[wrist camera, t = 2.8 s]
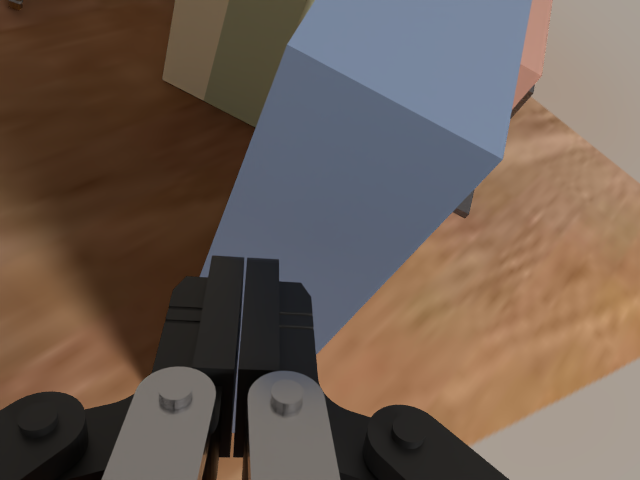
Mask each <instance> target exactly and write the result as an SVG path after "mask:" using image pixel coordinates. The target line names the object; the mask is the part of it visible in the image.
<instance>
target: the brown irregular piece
mask: <svg viewBox="0 0 640 480" xmlns="http://www.w3.org/2000/svg"><path fill="white" fill-rule="evenodd" d="M9 1H10V2H9V7H10V8H13V9H16V10H20V9H22V3H23V0H9Z"/></svg>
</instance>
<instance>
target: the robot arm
mask: <svg viewBox="0 0 640 480" xmlns="http://www.w3.org/2000/svg"><path fill="white" fill-rule="evenodd" d="M243 276H244V257H231V256H214V255H212V258H211V263H210V269H209V275H208V277H192V276H186V277H185V278H184V279H183V280H182V281H181V282H180V283H179V284H178V285H177V286H176V287H175V288H174V289H173V292H172V296H171V300H170V304H169V309H168V312H167V316H166V320H165V323H164V327H163V331H162V335H161V339H160V343H159V347H158V351H157V354H156V358H155V362H154V366H153V370H152V373H151V374H150V375H149V376H147V377H146V378H145V379H144V380H143V381H142V382H141V383H140V384H139V386H138V387H137V389H136V392H135V394H133V395H132V396H130V397H128V398H126V399H124V400H121V401H119V402H116V403H112V404H108V405H103V406H99V407H94V408H90V409H85V410H84V407H83V406H82V404H81V403H80V402H79V401H78V400H77V399H76V398H74V397H73V396H71V395H68V394H65V393H61V392H41V393H36V394H32V395H29V396H26V397H24V398H21V399H19V400H17V401H15V402H14V403H12V404H10V405H9V406H7V407H5V408H4V409H2V410H0V480H216V478H217V471H218V461H219V457H230V449H231V437H232V425H233V413H234V401H235V389H236V377H237V365H238V353H239V341H240V328H241V312H242V294H243ZM312 315H313V312H312V299H311V296H310V295H309V293H308V292H307V290H306V289H305V288H304V286H303V285H302V283H300V282H282V281H279V259H265V258H249V257H247V267H246V279H245V291H244V304H243V316H242V328H241V341H240V353H239V365H238V381H237V399H236V417H235V435H234V453H233V457H243V470H242V480H509V479H508V478H507V477H505V476H504V475H503V474H502V473H501V472H499V471H498V470H497V469H495V468H494V467H493V466H492V465H491V464H489V463H488V462H487V461H486V460H485V459H483V458H482V457H481V456H480V455H479V454H477V453H476V452H475V451H474V450H472V449H471V448H470V447H469V446H468V445H466V444H465V443H464V442H463V441H461V440H460V439H459V438H458V437H456V436H455V435H454V434H453V433H452V432H450V431H449V430H448V429H447V428H445V427H444V426H443V425H442V424H441V423H439V422H438V421H437V420H436V419H434V418H433V417H432V416H430V415H429V414H428V413H426V412H424V411H422V410H420V409H418V408H415V407H411V406H407V405H391V406H387V407H384V408H382V409H380V410H378V411H377V412H376V413H374V415H373V416H372V417H367V416H364V415H361V414H358V413H354V412H351V411H349V410H346V409H344V408H342V407H340V406H338V405H337V404H335V403H334V402H332V401H331V400H330V399H329V398H328V397H327V396H326V395H325V394H324V392H323V391H322V389H321V387H320V385H319V381H318V373H317V361H316V349H315V336H314V324H313V316H312Z"/></svg>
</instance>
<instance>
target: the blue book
mask: <svg viewBox="0 0 640 480" xmlns="http://www.w3.org/2000/svg"><path fill="white" fill-rule="evenodd" d="M531 3H532V0H315V1H314V3H313V4H312V6H311V7H310V9H309V11H308V12H307V14H306V15H305V17H304V19H303V20H302V22H301V23H300V25H299V26H298V28H297V30H296V31H295V33H294V34H293V36H292V38H291V39H290V41H289V42H288V44H287V46H286V49H285V51H284V54H283V57H282V59H281V62H280V65H279V67H278V70H277V73H276V75H275V78H274V81H273V83H272V86H271V89H270V91H269V94H268V97H267V99H266V102H265V104H264V107H263V110H262V112H261V115H260V118H259V120H258V123H257V126H256V128H255V131H254V134H253V136H252V139H251V142H250V144H249V147H248V150H247V152H246V155H245V158H244V160H243V163H242V166H241V168H240V171H239V173H238V176H237V179H236V181H235V184H234V187H233V189H232V192H231V195H230V197H229V200H228V203H227V205H226V208H225V211H224V213H223V216H222V219H221V221H220V224H219V227H218V229H217V232H216V235H215V237H214V240H213V242H212V245H211V248H210V250H209V253H208V256H207V258H206V261H205V264H204V266H203V269H202V272H201V274H200V277H208V275H209V269H210V263H211V258H212V255H214V256H231V257H244V276H243V294H242V312H241V328H242V316H243V304H244V291H245V279H246V267H247V257H249V258H265V259H279V281H282V282H300V283H302V285H303V286H304V288H305V289H306V290H307V292H308V293H309V295H310V296H311V299H312V312H313V315H312V316H313V324H314V336H315V349H316V354H317V353H318V352H319V351H320V350H321V349H322V348H323V347H324V346H325V345H326V344H327V343H328V342H329V341H330V340H331V339H332V338H333V336H334V335H335V334H336V333H337V332H338V331H339V330H340V329H341V328H342V327H343V326H344V325H345V324H346V323H347V322H348V321H349V320H350V319H351V318H352V317H353V316H354V314H355V313H356V312H357V311H358V310H359V309H360V308H361V307H362V306H363V305H364V304H365V303H366V302H367V301H368V300H369V299H370V298H371V297H372V296H373V295H374V294H375V293H376V291H377V290H378V289H379V288H380V287H381V286H382V285H383V284H384V283H385V282H386V281H387V280H388V279H389V278H390V277H391V276H392V275H393V274H394V273H395V272H396V271H397V269H398V268H399V267H400V266H401V265H402V264H403V263H404V262H405V261H406V260H407V259H408V258H409V257H410V256H411V255H412V254H413V253H414V252H415V251H416V250H417V249H418V247H419V246H420V245H421V244H422V243H423V242H424V241H425V240H426V239H427V238H428V237H429V236H430V235H431V234H432V233H433V232H434V231H435V230H436V229H437V228H438V227H439V226H440V224H441V223H442V222H443V221H444V220H445V219H446V218H447V217H448V216H449V215H450V214H451V213H452V212H453V211H454V210H455V209H456V208H457V207H458V206H459V205H460V204H461V202H462V201H463V200H464V199H465V198H466V197H467V196H468V195H469V194H470V193H471V192H472V191H473V190H474V189H475V188H476V187H477V186H478V185H479V184H480V183H481V182H482V180H483V179H484V178H485V177H486V176H487V175H488V174H489V173H490V172H491V171H492V170H493V169H494V168H495V167H496V166H497V165H498V164H499V163H500V162H501V161H502V160H503V155H504V150H505V145H506V139H507V134H508V128H509V123H510V117H511V112H512V107H513V101H514V96H515V90H516V85H517V79H518V74H519V69H520V63H521V58H522V52H523V47H524V41H525V36H526V31H527V25H528V20H529V14H530V9H531ZM241 328H240V341H241ZM240 341H239V353H240ZM239 353H238V365H239ZM238 365H237V377H236V389H235V401H234V413H233V425H232V432H233V433H235V417H236V399H237V381H238Z"/></svg>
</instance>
